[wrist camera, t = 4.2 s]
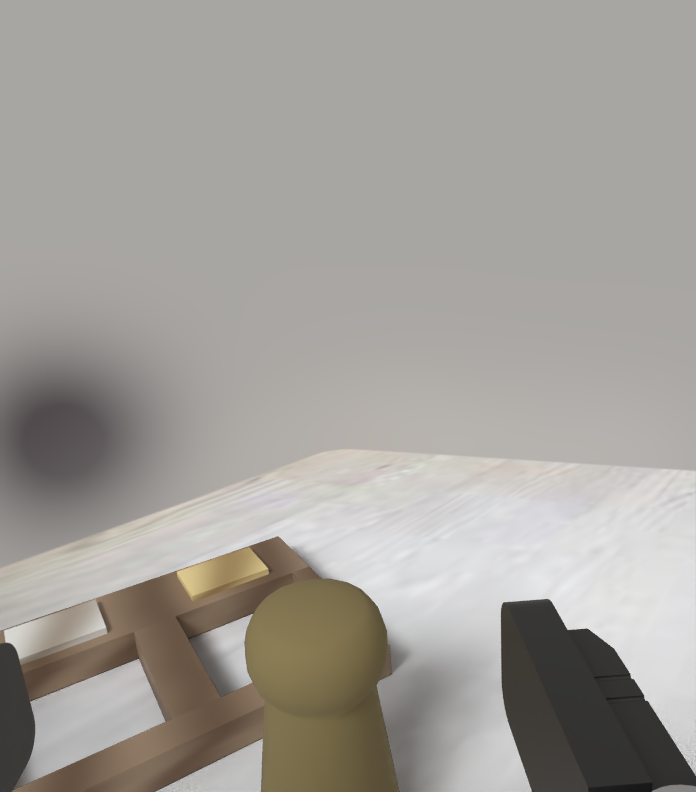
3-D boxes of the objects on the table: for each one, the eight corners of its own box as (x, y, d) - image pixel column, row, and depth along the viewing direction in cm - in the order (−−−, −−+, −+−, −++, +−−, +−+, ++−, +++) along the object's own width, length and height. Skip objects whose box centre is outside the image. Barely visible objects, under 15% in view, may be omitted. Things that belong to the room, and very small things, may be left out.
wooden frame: (-31, 882, 25) (-45, 841, 25) (-37, 672, 37) (-47, 640, 36) (391, 674, 35) (389, 640, 34) (280, 558, 46) (277, 531, 46)
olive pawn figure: (390, 927, 23) (376, 674, 20) (234, 887, 25) (196, 647, 21) (418, 781, 28) (411, 564, 25) (289, 757, 30) (266, 550, 27)
